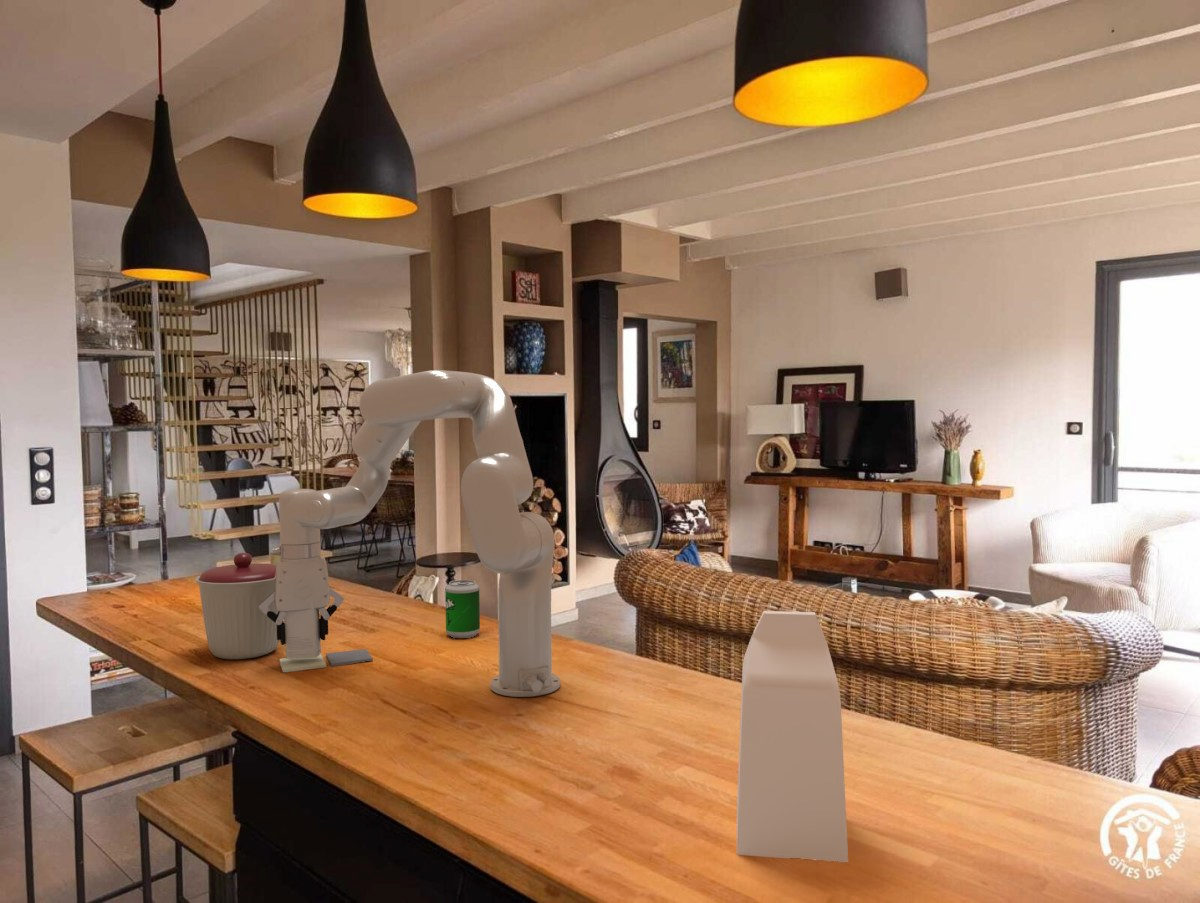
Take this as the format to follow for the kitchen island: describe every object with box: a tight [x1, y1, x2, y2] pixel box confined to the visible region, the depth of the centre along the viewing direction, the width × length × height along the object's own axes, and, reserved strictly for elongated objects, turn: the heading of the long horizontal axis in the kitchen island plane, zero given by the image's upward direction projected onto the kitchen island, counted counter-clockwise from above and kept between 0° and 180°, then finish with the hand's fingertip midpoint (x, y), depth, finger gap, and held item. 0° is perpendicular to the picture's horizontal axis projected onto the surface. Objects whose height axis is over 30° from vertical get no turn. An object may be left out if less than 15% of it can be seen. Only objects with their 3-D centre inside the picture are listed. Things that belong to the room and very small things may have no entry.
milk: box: [736, 610, 849, 863], centre depth 100 cm, size 12×12×26 cm
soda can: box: [444, 579, 481, 639], centre depth 192 cm, size 8×8×12 cm
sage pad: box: [279, 653, 327, 673], centre depth 171 cm, size 8×8×1 cm
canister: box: [194, 552, 280, 660], centre depth 179 cm, size 18×18×21 cm
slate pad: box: [325, 648, 374, 667], centre depth 174 cm, size 8×8×1 cm
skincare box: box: [283, 598, 322, 659], centre depth 170 cm, size 6×4×12 cm
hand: (302, 640), depth 170 cm, fingers closed on skincare box, 6 cm apart
